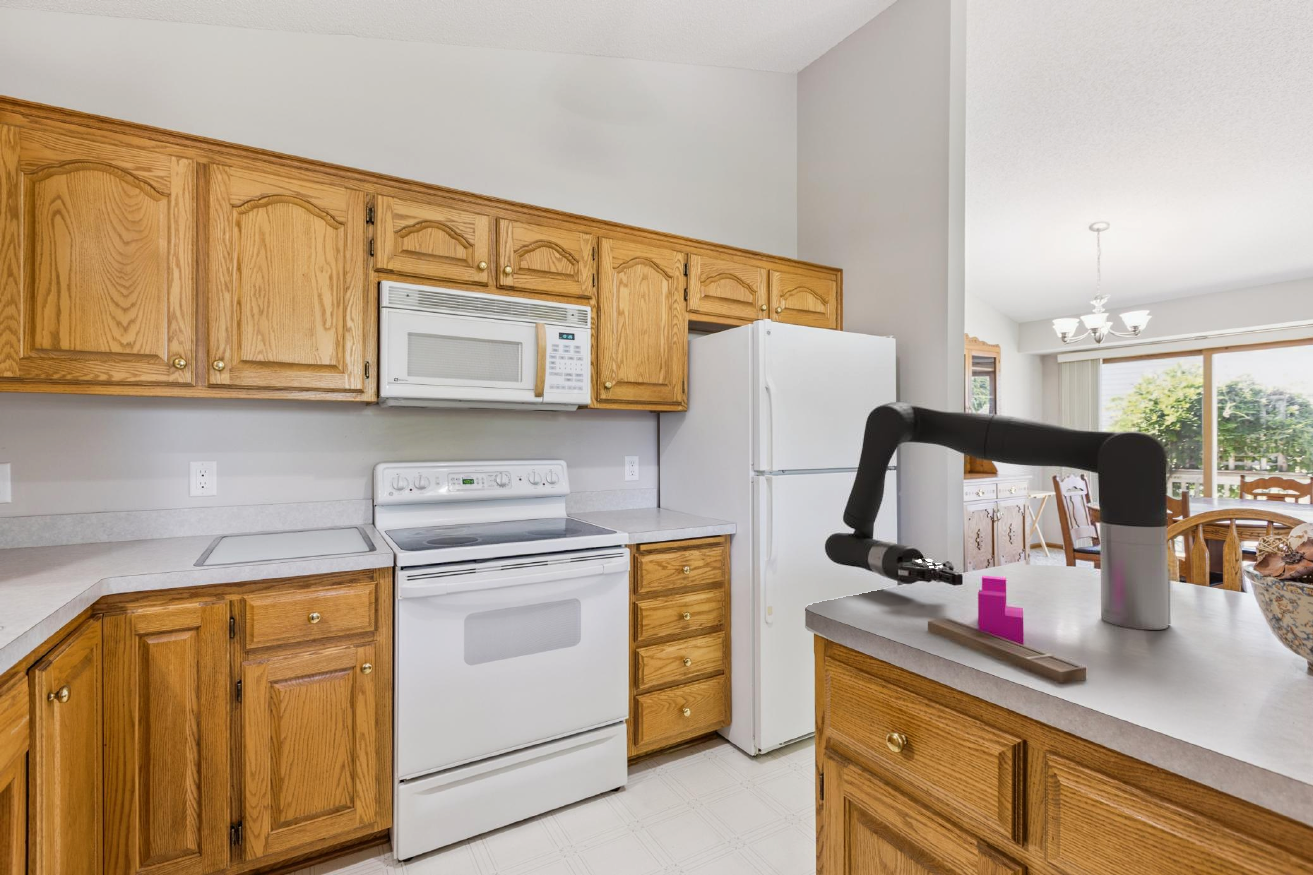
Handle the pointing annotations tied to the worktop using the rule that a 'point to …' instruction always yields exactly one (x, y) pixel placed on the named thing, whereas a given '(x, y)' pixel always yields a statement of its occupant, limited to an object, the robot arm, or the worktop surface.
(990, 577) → the toy block
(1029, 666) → the walnut plank
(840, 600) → the worktop surface
